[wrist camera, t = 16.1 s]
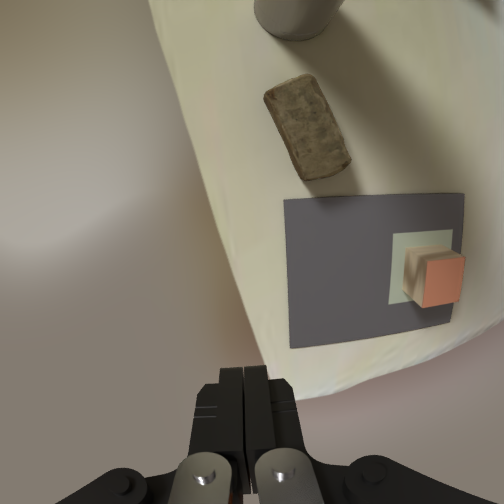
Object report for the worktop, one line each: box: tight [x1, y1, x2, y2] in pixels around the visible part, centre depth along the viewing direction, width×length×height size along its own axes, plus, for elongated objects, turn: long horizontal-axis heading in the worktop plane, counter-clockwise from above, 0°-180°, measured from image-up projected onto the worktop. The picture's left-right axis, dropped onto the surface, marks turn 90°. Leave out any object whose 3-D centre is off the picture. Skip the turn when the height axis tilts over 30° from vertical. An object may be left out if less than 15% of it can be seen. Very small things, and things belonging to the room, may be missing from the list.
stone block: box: [263, 74, 352, 181], centre depth 33 cm, size 6×12×5 cm, turn 26°
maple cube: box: [402, 244, 465, 308], centre depth 37 cm, size 6×6×6 cm
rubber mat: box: [284, 194, 464, 348], centre depth 40 cm, size 20×26×1 cm
